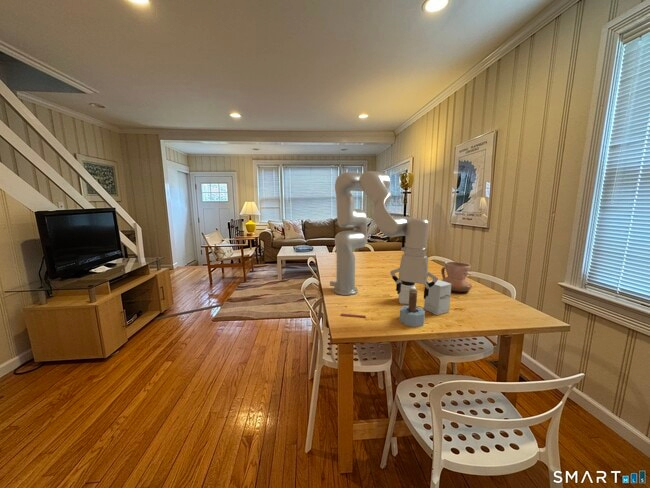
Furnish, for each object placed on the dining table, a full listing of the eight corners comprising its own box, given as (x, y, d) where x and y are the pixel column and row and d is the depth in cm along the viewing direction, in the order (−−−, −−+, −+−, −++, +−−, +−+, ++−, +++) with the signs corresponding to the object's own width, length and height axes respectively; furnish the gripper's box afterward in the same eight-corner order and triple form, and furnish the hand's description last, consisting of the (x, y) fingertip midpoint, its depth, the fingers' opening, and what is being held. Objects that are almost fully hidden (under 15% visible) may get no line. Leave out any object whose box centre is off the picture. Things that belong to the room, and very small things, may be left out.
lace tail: (341, 315, 104) (341, 314, 104) (341, 314, 105) (341, 313, 105) (365, 317, 102) (365, 316, 102) (365, 316, 103) (365, 315, 103)
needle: (407, 322, 98) (408, 290, 96) (408, 318, 101) (410, 287, 98) (414, 323, 97) (417, 291, 95) (415, 320, 99) (418, 289, 97)
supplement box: (437, 315, 104) (440, 286, 102) (423, 309, 110) (425, 281, 108) (449, 312, 107) (452, 283, 105) (435, 306, 113) (437, 278, 111)
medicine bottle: (416, 305, 115) (417, 279, 113) (399, 303, 116) (400, 278, 114) (413, 299, 121) (415, 275, 120) (398, 298, 123) (399, 274, 121)
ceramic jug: (480, 293, 129) (482, 266, 127) (458, 296, 124) (460, 268, 122) (451, 283, 146) (453, 259, 144) (431, 286, 141) (433, 261, 139)
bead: (398, 323, 97) (398, 312, 96) (402, 314, 105) (402, 304, 104) (422, 328, 93) (423, 316, 92) (424, 318, 101) (425, 308, 100)
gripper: (389, 251, 95) (387, 294, 98) (440, 256, 87) (435, 303, 91) (394, 247, 102) (391, 288, 105) (441, 252, 94) (436, 296, 97)
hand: (411, 295), depth 98 cm, fingers open, 9 cm apart
